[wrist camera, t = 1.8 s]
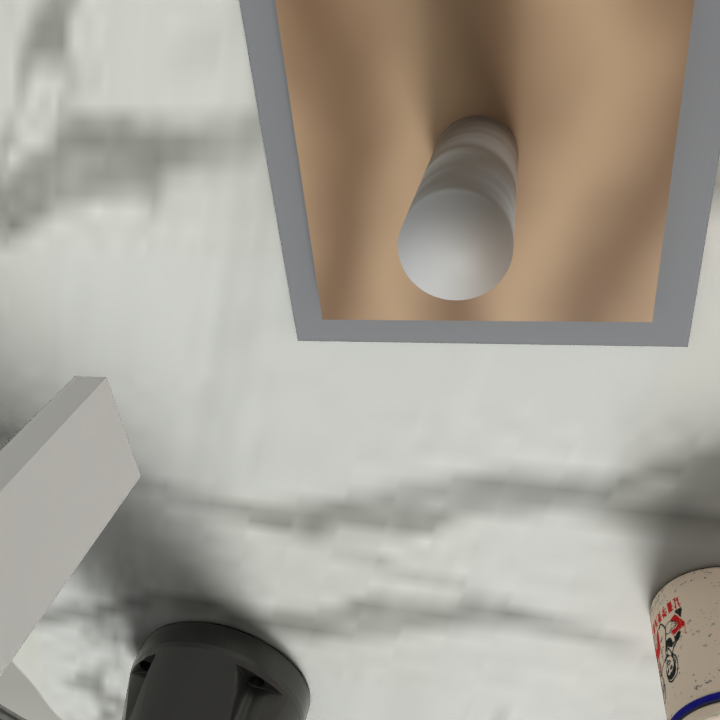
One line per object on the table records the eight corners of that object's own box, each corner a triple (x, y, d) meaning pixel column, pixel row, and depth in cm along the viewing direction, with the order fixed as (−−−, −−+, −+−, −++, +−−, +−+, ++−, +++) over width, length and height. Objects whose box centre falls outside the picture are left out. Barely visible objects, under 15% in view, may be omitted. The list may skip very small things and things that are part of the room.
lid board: (328, 308, 37) (259, 439, 28) (279, -35, 29) (158, -14, 19) (648, 310, 33) (693, 460, 24) (698, -83, 25) (796, -85, 16)
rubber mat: (300, 335, 39) (298, 340, 38) (229, -86, 29) (224, -86, 28) (685, 340, 34) (687, 346, 34) (766, -159, 24) (771, -161, 23)
